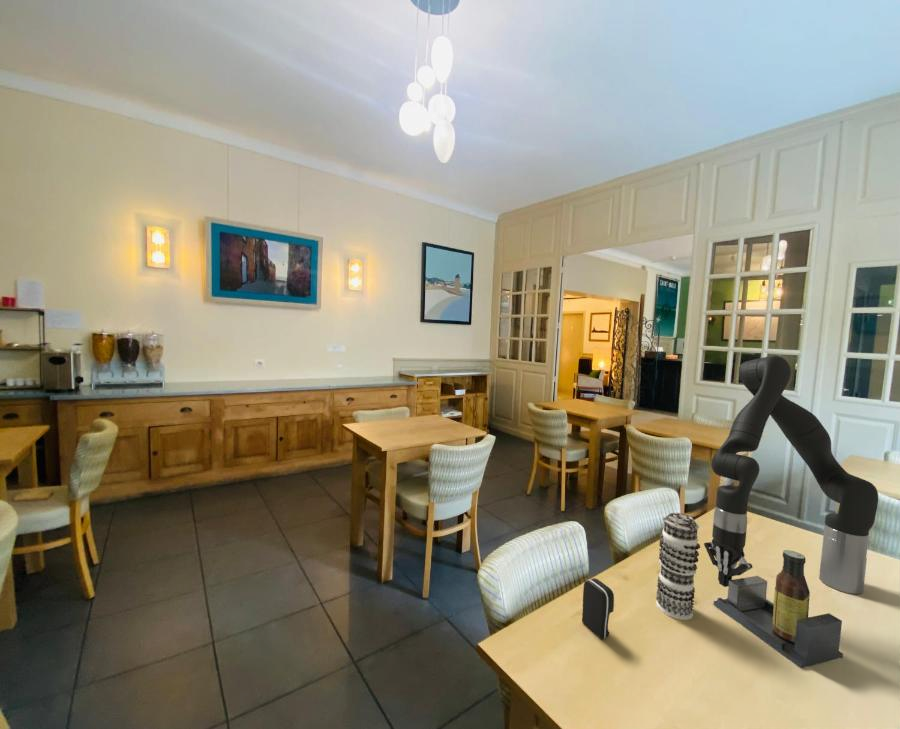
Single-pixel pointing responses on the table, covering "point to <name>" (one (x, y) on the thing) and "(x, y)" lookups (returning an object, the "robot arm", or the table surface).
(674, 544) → the decorative candle
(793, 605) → the sauce bottle
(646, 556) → the table surface
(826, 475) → the robot arm
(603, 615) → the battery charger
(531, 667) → the table surface
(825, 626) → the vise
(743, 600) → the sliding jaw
